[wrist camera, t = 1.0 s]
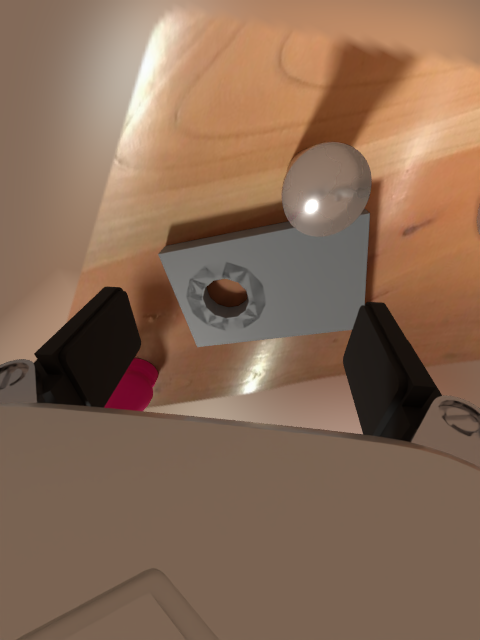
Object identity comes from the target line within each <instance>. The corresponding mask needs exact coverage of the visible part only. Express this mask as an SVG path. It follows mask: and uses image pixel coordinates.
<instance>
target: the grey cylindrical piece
mask: <svg viewBox="0 0 480 640" xmlns="http://www.w3.org/2000/svg"><path fill="white" fill-rule="evenodd" d="M370 192H371V172H370V168H369V165H368V163H367V161H366V159H365V158H364V156H363V155H362V154H361V153H360V152H359V151H358V150H356V149H355V148H353V147H351V146H349V145H347V144H343V143H339V142H324V143H320V144H317V145H314V146H312V147H310V148H306V149H304V150H302V151H300V152H298V153H297V154H296V155H295V156H294V157H293V159H292V160H291V162H290V163H289V166H288V168H287V173H286V176H285V178H284V182H283V186H282V203H283V209H284V212H285V215H286V217H287V219H288V220H289V222H290V223H291V224H292V225H293V227H295V228H296V229H297V230H298V231H300V232H302V233H304V234H306V235H310V236H315V237H323V236H329V235H333V234H336V233H338V232H340V231H342V230H344V229H345V228H347V227H348V226H349V225H351V224H352V223H353V222H354V221H355V220H356V219H357V218H358V217H359V215H360V214H361V213H362V211H363V210H364V208H365V206H366V204H367V201H368V199H369V196H370Z"/></svg>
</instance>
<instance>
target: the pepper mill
mask: <svg viewBox="0 0 480 640" xmlns="http://www.w3.org/2000/svg"><path fill="white" fill-rule="evenodd" d="M157 378H158V372H157V370H156V368H155V367H154V366H153V365H152V364H151V363H149V362H147V361H145V360H142V359H138V358H134V359H133V361H132V362H131V364H130V366H129V367H128V369H127V370H126V372H125V374H124V375H123V377H122V379H121V380H120V382H119V384H118V385H117V387H116V389H115V390H114V392H113V394H112V395H111V397H110V398H109V400H108V402H107V403H106V405H105V407H104V408H112V409H122V410H133V411H143V410H144V409H145V408H146V407H147V406H148V404H149V403H150V401H151V399H152V397H153V389H152V387H153V386H154V385H155V382H156V380H157Z"/></svg>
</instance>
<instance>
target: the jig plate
mask: <svg viewBox="0 0 480 640" xmlns="http://www.w3.org/2000/svg"><path fill="white" fill-rule="evenodd" d="M369 221H370V213H369V212H368V211H367V210H366V209H364V210H363V211H362V213H361V214H360V215H359V217H358V218H357V219H356V220H355V221H354V222H353V223H352V224H351V225H349V226H348V227H347V228H345V229H344V230H342V231H340V232H338V233H336V234H333V235H329V236H323V237H315V236H310V235H306V234H304V233H302V232H300V231H298V230H297V229H296V228H295V227H293V225H292V224H291V223H290V222H289V221H288V222H283V223H278V224H273V225H268V226H263V227H258V228H253V229H248V230H243V231H238V232H233V233H228V234H223V235H218V236H213V237H208V238H203V239H198V240H193V241H188V242H183V243H178V244H173V245H168V246H165V247H164V248H163V249H162V250H161V252H160V253H159V254H158V255H159V257H160V260H161V262H162V264H163V267H164V269H165V271H166V274H167V276H168V278H169V281H170V283H171V286H172V288H173V290H174V293H175V295H176V297H177V300H178V302H179V305H180V307H181V309H182V312H183V314H184V316H185V319H186V321H187V323H188V326H189V328H190V331H191V333H192V335H193V338H194V340H195V342H196V345H197V347H202V346H211V345H219V344H228V343H237V342H246V341H255V340H264V339H273V338H282V337H291V336H299V335H308V334H317V333H326V332H335V331H344V330H352V329H353V326H354V323H355V320H356V317H357V314H358V311H359V308H360V307H361V306H362V305H365V288H366V271H367V254H368V238H369ZM220 279H229V280H232V281H235V282H238V283H239V284H240V285H241V286H242V287H243V288H244V289H245V290H246V291H247V295H248V298H247V300H246V301H245V302H243V303H242V304H241V305H239V306H235V307H225V306H222V305H219V304H217V303H216V302H215V301H214V300H212V299H211V298H210V296H209V293H208V290H207V286H208V285H209V284H210V283H211V282H213V281H214V280H220Z"/></svg>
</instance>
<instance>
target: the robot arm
mask: <svg viewBox="0 0 480 640" xmlns="http://www.w3.org/2000/svg"><path fill="white" fill-rule="evenodd" d="M477 226H478V232H479V234H480V205H479V208H478V216H477ZM140 346H141V339H140V336H139V333H138V329H137V326H136V323H135V319H134V316H133V312H132V309H131V306H130V302H129V299H128V295H127V293H126V292H125V291H123V290H122V288H120V287H104V288H103V289H102V290H101V291H100V292H99V293H98V294H97V295H96V296H95V297H94V298H93V299H91V300H90V301H89V302H88V303H87V304H86V305H85V306H84V307H83V308H82V309H81V310H80V311H79V312H78V313H77V314H76V315H75V316H74V317H72V318H71V319H70V320H69V321H68V322H67V323H66V324H65V325H64V326H63V327H62V328H61V329H60V330H59V331H58V332H57V333H56V334H55V335H53V336H52V337H51V338H50V339H49V340H48V341H47V342H46V343H45V344H44V345H43V346H42V347H41V348H40V349H39V350H38V351H37V352H36V353H35V356H36V357H37V360H36V361H35V362H34V363H33V362H32V361H30V360H26V359H19V360H14V361H9V362H6V363H4V364H1V365H0V640H480V408H479V407H477V406H475V405H474V404H472V403H470V402H468V401H466V400H464V399H461V398H458V397H454V396H442V395H441V393H440V391H439V390H438V388H437V386H436V385H435V383H434V382H433V380H432V378H431V377H430V375H429V374H428V372H427V370H426V369H425V367H424V365H423V364H422V362H421V360H420V359H419V357H418V356H417V354H416V352H415V351H414V349H413V347H412V346H411V344H410V343H409V341H408V340H407V339H406V337H405V336H404V334H403V332H402V331H401V329H400V328H399V326H398V324H397V323H396V321H395V319H394V318H393V316H392V314H391V313H390V311H389V310H388V308H387V306H386V305H385V304H384V303H378V302H367V303H366V304H365V305H362V306H361V307H360V308H359V311H358V314H357V317H356V320H355V323H354V326H353V329H352V332H351V335H350V338H349V341H348V345H347V348H346V351H345V354H344V357H343V364H344V368H345V372H346V375H347V379H348V382H349V385H350V389H351V393H352V396H353V400H354V403H355V407H356V410H357V414H358V417H359V421H360V425H361V428H362V431H363V434H354V433H346V432H338V431H329V430H320V429H311V428H302V427H292V426H283V425H272V424H264V423H253V422H244V421H235V420H225V419H214V418H205V417H194V416H184V415H175V414H164V413H154V412H144V411H133V410H122V409H112V408H104V407H105V405H106V403H107V402H108V400H109V398H110V397H111V395H112V394H113V392H114V390H115V389H116V387H117V385H118V384H119V382H120V380H121V379H122V377H123V375H124V374H125V372H126V370H127V369H128V367H129V366H130V364H131V362H132V361H133V359H134V357H135V356H136V354H137V352H138V351H139V349H140Z"/></svg>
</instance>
